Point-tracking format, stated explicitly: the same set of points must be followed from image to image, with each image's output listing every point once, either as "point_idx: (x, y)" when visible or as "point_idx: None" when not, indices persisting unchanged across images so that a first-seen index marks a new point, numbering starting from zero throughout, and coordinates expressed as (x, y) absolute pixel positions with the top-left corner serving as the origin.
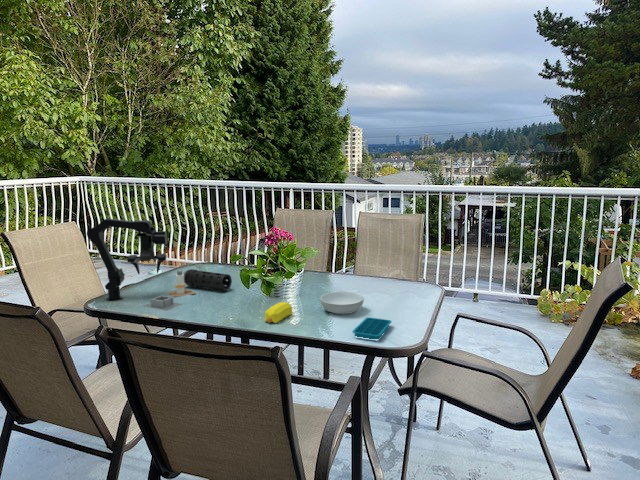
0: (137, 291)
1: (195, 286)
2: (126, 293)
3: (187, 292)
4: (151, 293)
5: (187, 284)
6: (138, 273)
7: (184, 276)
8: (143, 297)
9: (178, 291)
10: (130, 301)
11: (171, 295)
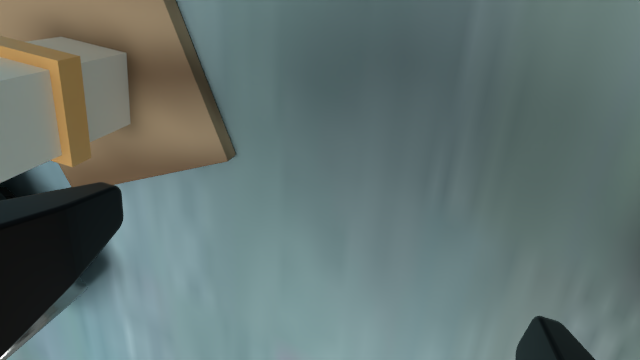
0: (459, 353)
1: None
2: None
3: None
4: (354, 239)
5: None
6: (567, 337)
7: None
8: (445, 145)
9: (90, 52)
10: (630, 44)
11: (168, 17)
